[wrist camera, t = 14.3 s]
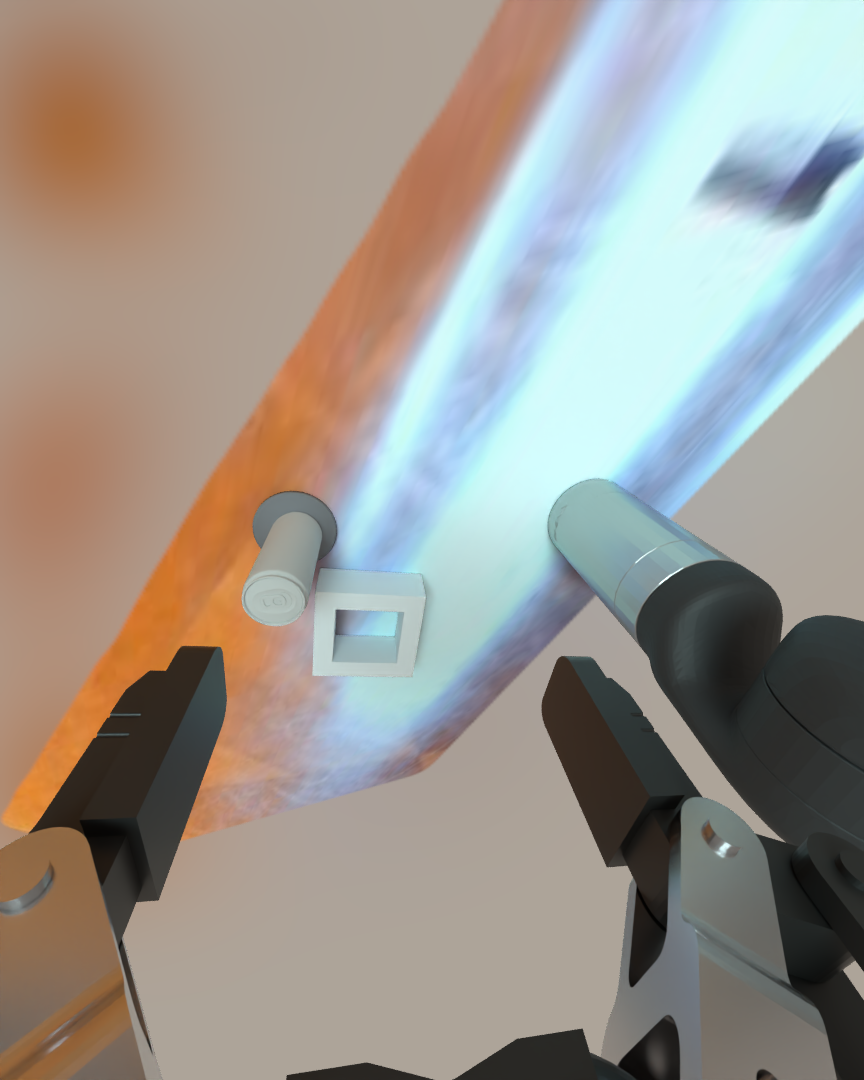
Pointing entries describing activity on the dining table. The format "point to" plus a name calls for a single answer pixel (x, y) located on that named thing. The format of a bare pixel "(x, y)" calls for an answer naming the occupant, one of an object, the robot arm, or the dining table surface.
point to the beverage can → (283, 571)
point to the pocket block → (368, 595)
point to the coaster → (295, 503)
